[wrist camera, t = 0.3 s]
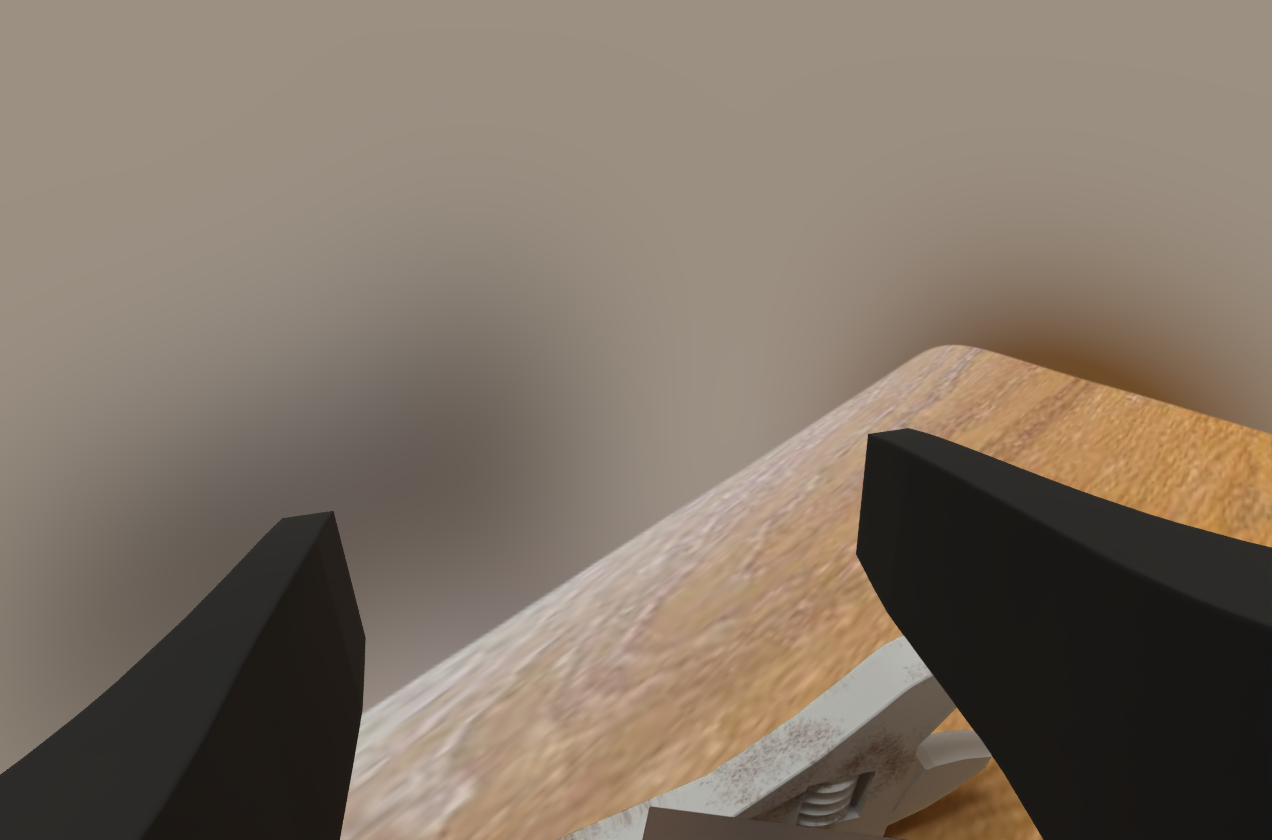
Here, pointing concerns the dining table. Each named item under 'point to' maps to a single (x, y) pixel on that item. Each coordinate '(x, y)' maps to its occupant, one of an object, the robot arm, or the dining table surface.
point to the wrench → (836, 758)
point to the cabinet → (733, 828)
